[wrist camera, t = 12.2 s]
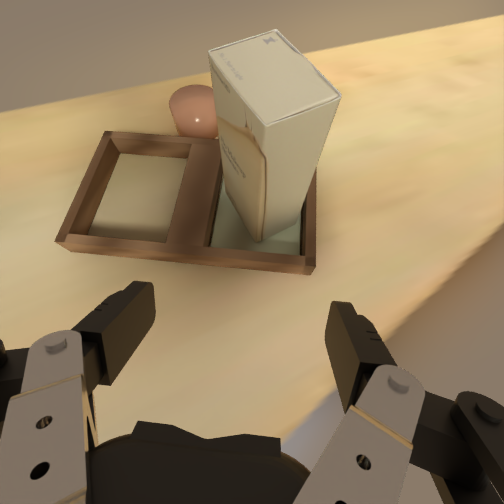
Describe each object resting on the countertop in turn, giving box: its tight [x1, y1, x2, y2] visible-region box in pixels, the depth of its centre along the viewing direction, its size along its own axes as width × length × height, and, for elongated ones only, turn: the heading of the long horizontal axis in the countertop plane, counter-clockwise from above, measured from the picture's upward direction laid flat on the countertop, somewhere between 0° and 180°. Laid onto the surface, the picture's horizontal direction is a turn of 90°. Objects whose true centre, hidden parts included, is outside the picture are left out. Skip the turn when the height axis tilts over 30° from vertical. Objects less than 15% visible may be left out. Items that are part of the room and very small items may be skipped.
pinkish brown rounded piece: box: [169, 85, 219, 139], centre depth 27 cm, size 5×5×3 cm
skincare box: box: [208, 29, 341, 243], centre depth 18 cm, size 6×4×12 cm
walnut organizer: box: [54, 131, 316, 275], centre depth 23 cm, size 21×12×2 cm, turn 84°
